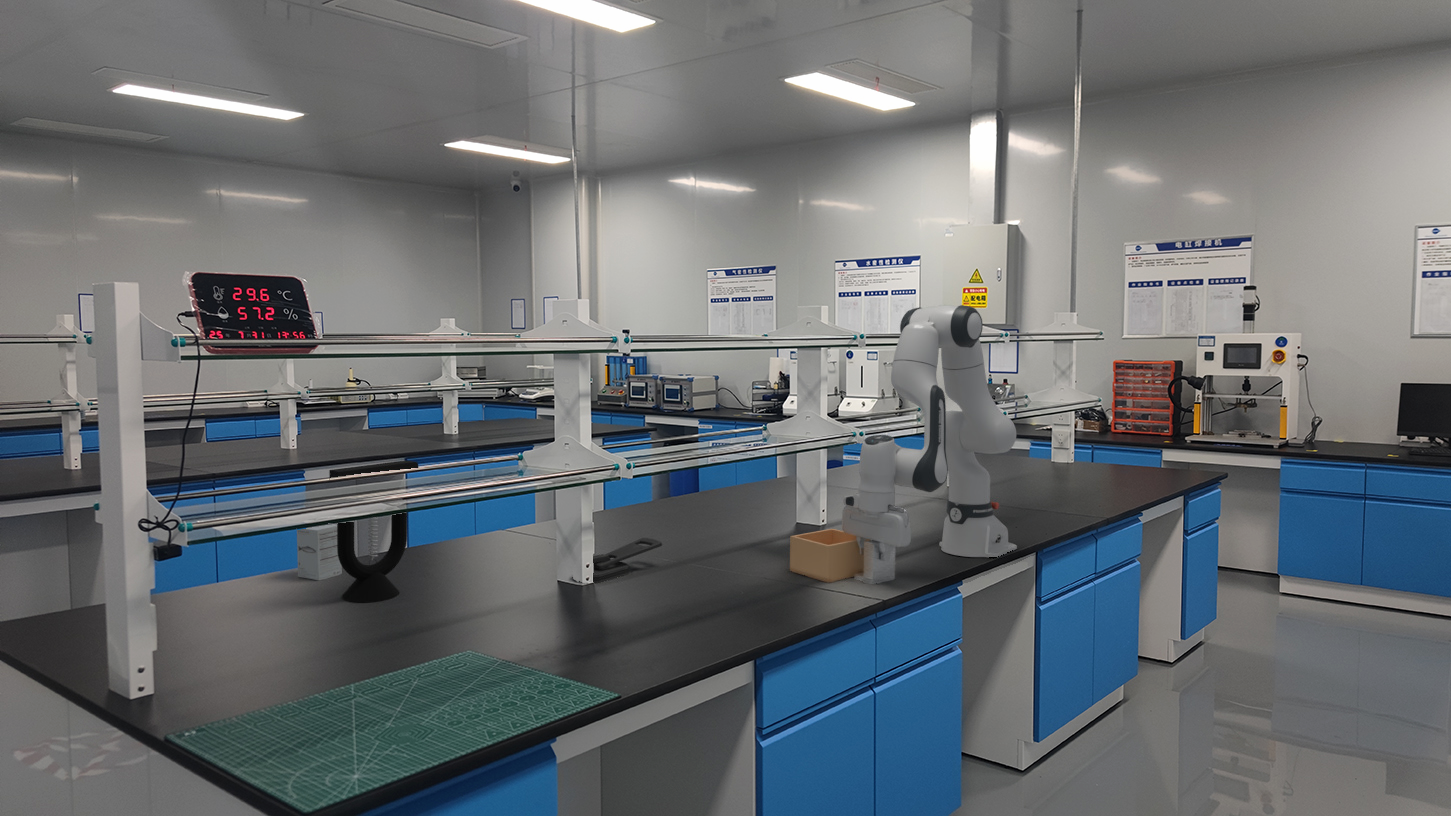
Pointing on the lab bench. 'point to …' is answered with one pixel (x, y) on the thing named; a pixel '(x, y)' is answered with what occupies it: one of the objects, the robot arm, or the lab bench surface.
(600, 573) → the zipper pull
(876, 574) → the aluminium bracket
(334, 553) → the supplement box
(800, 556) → the open box
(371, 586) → the spring support
